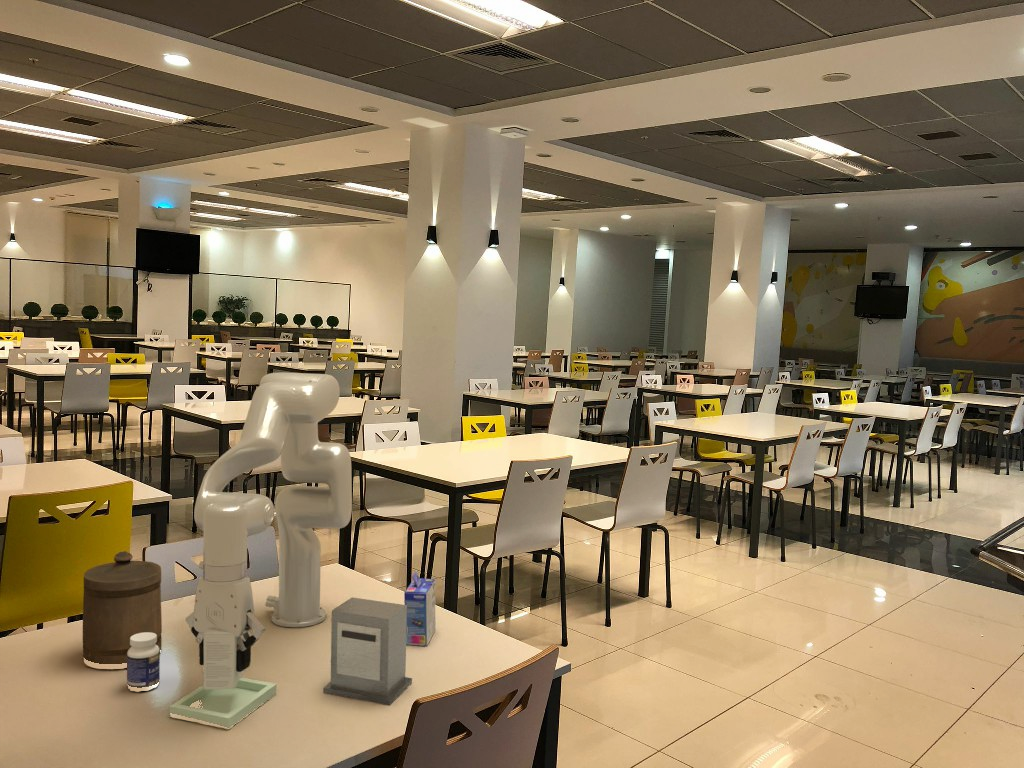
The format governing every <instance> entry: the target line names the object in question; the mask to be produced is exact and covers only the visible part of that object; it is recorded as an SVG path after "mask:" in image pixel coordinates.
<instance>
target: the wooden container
mask: <svg viewBox="0 0 1024 768" xmlns="http://www.w3.org/2000/svg"><path fill="white" fill-rule="evenodd" d="M133 558H134V557H133V554H132V553H130V552H129V551H127V550H126V551H125V550H124V551H118V553H116V554H114V557H113V560H114V561H112V562H108V563H103V564H98V565H96V566H94V567H91V568H89V569H87V570H86V571H85V572H84V573H83V601H82V602H83V604H82V605H83V606H82V607H83V608H82V658H83V657H84V658H85V659H86V660H88V661H91V662H94V663H99V664H122V663H127V653H128V650H129V649H130V648H131V647H132V646H131V645H130V637H131V636H133V635H135V634H138V633H144V632H151V633H155V634H156V635H157V642H156V643H155V644H156V645H157V646H158V647H159V649H160V650H161V651H162V644H163V643H162V642H163V641H162V631H163V629H162V627H163V625H162V622H163V621H162V620H163V619H162V591H161V590H162V589H161V583H162V568H161V565H160V564H157V563H155V562H154V561H153V562H152V561H146V560H133Z"/></svg>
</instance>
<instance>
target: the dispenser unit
mask: <svg viewBox="0 0 1024 768" xmlns="http://www.w3.org/2000/svg"><path fill="white" fill-rule="evenodd" d="M406 627H407V605H405V604H399V603H396V602H395V603H394V602H389V601H388V602H385V601H379V600H373V599H367V598H359V597H354V596H352V597H350V598H349V599H347V600H346V601H344V602H342V603H341V604H339V605H338V606H336V607H335V608H333V609H331V631H330V632H331V633H330V634H331V636H330V647H331V648H330V682H328V684H326V685H325V686H324V687H322V689H323V690H322V693H323V694H327V695H331V696H337V697H344V698H348V699H354V700H360V701H364V702H370V703H376V704H382V705H386V706H391V705H392V704H393V703H394V701H396V699H398V698H399V697H400V696H401V695H402V694H403V693H404V692H405V691H406V690H407V689H408V688H409V687H408V686H409V685H410V686H411V684H413V678H412V677H408V676H406V664H407V663H406V662H407V645H406ZM407 687H408V688H407Z"/></svg>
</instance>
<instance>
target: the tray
mask: <svg viewBox="0 0 1024 768" xmlns="http://www.w3.org/2000/svg"><path fill="white" fill-rule="evenodd" d="M273 696H274V697H275V696H277V683H274V682H269V681H262V680H257V679H252V678H245V677H242V676H241V678H240V680H239V682H238V683H237V685H236V687H235V689H228V690H225V689H213V690H204V684H202V685H201V686H199V687H198V688H196V689H194V690H193V691H191V692H190V693H188V694H186V695H184V696H183V697H181V698H180V699H178V700H177V701H175V702H173V704H171V705H169V707H168V708H169V710H168V711H169V712H170V713H172V714H177V715H181V716H185V717H188V718H194V719H197V720H202V721H205V722H209V723H213V724H217V725H220V726H224V727H227V728H230V727H231V726H232V725H234V724H235V723H237V722H238V721H240V720H241V719H242V718H243V717H245V716H246V715H247V714H249V713H250V712H252V711H253V710H254V709H256V708H257V707H258V706H259V705H261V704H262V703H264V702H266V701H267V700H268V699H270V698H271V699H273V698H274V697H273ZM272 697H273V698H272ZM271 699H270V700H271ZM198 700H199V702H200V700H201V702H202V704H201V705H200V704H199V705H200V706H201V707H200V708H195V707H190V705H191V704H192V703H194V702H196V701H198ZM201 702H200V703H201ZM267 702H268V701H267ZM267 702H266V703H267ZM202 706H203V708H202ZM198 707H199V706H198ZM201 708H202V709H201ZM240 722H241V721H240Z"/></svg>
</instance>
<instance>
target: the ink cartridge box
mask: <svg viewBox="0 0 1024 768" xmlns="http://www.w3.org/2000/svg"><path fill="white" fill-rule="evenodd" d="M411 578H412V581H411V582H410V584H409V585H408V587H407V588H406V589H405V591H404V594H403V595H404V599H403V600H404V601H403V602H404V605H407V627H406V644H407V645H409V646H418V645H419V647H426V646H428V645H429V643H430V641H431V640H432V637H433V636H434V634H435V631H436V579H435V578H423V577H421V578H420V577H419V574H418V573H417V571H415V572H414V573H413V575H412V577H411ZM407 645H406V646H407Z"/></svg>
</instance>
